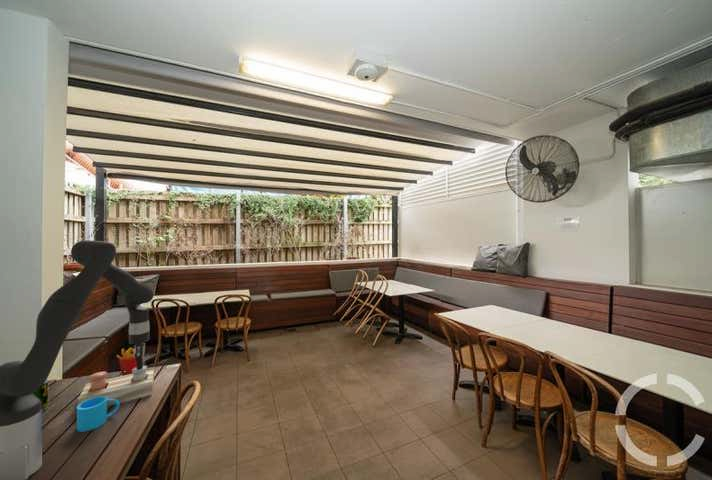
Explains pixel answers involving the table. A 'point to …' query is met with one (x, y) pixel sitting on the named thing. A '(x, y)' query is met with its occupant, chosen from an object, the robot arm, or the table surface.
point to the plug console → (121, 389)
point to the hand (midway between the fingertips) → (139, 368)
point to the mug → (93, 413)
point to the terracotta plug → (98, 381)
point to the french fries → (127, 362)
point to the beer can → (43, 394)
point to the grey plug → (139, 374)
